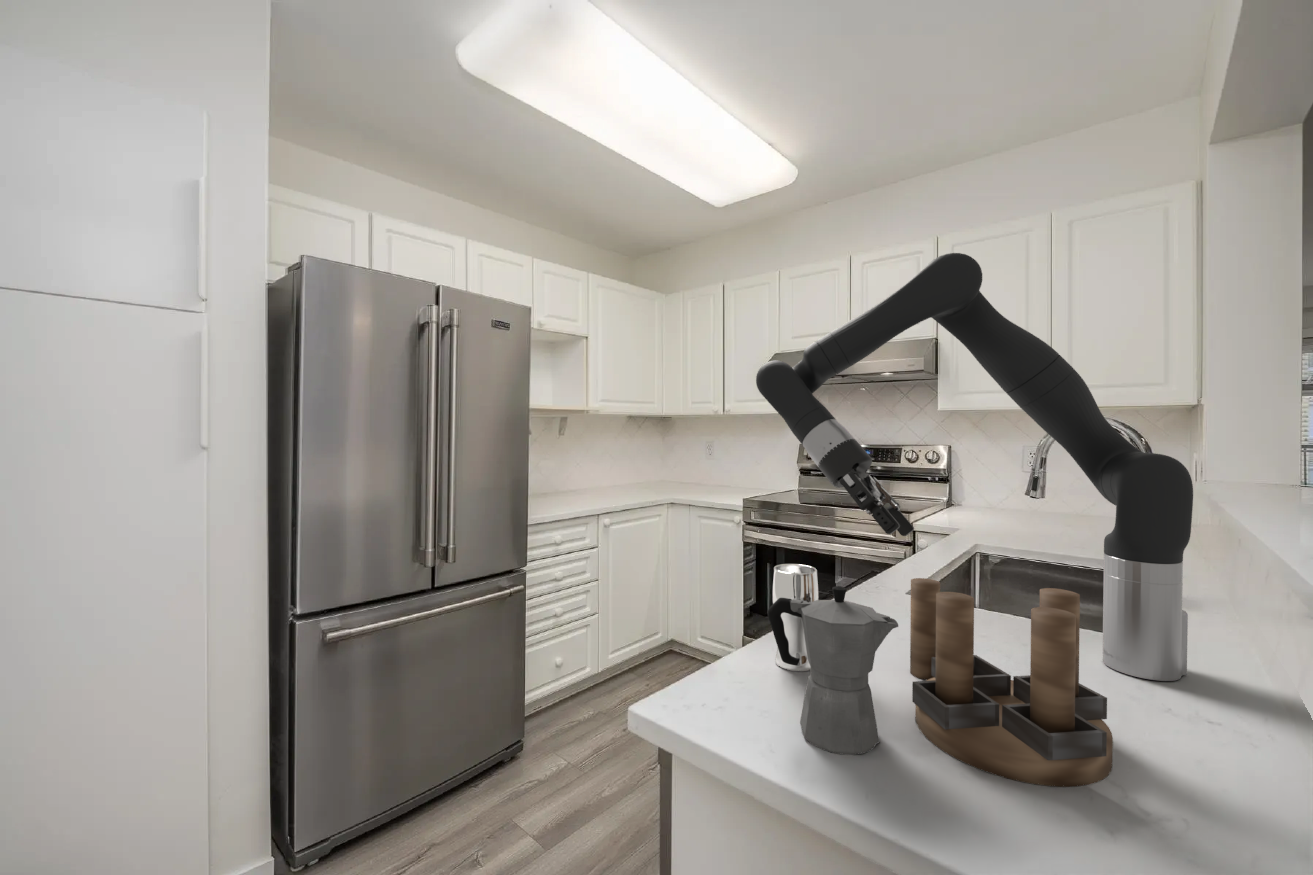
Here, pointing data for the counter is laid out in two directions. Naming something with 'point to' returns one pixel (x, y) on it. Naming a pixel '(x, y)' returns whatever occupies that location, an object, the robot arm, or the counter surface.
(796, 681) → the counter surface
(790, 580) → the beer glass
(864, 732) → the coffeepot
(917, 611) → the loose leg
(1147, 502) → the robot arm
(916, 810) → the counter surface
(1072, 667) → the stool seat
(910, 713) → the counter surface
